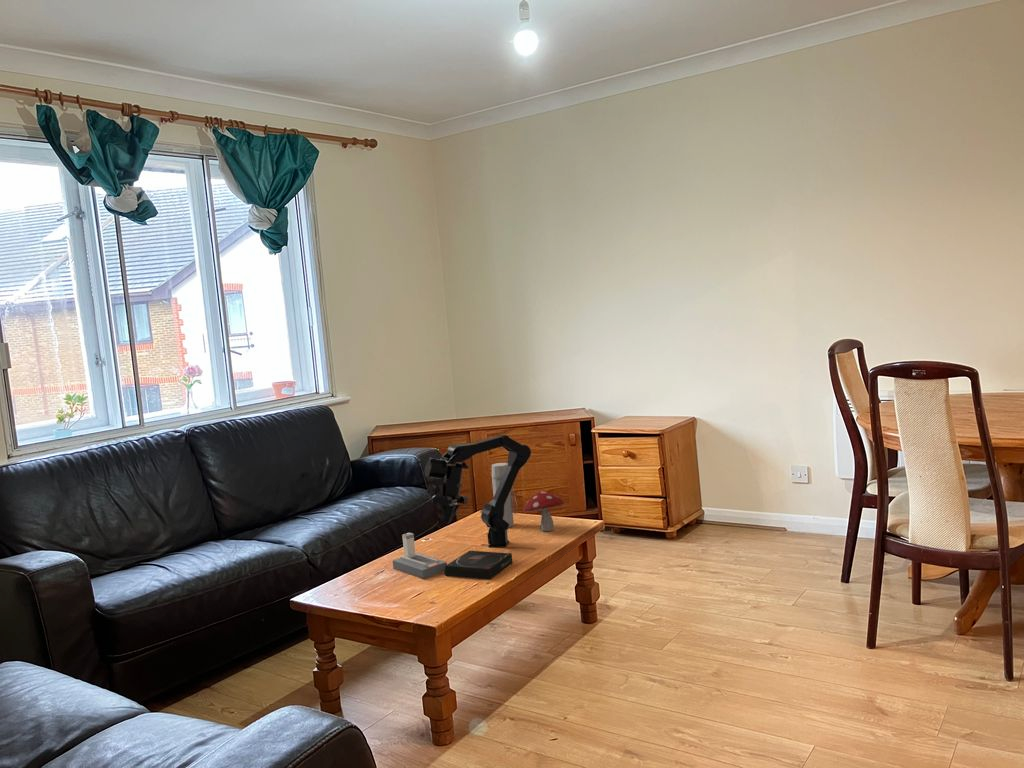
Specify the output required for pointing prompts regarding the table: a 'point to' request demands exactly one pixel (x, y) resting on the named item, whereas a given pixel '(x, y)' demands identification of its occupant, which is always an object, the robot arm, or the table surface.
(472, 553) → the portable cd player
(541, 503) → the decorative mushroom
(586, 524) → the table surface
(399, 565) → the breaker housing
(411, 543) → the breaker handle
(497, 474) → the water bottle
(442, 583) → the table surface
